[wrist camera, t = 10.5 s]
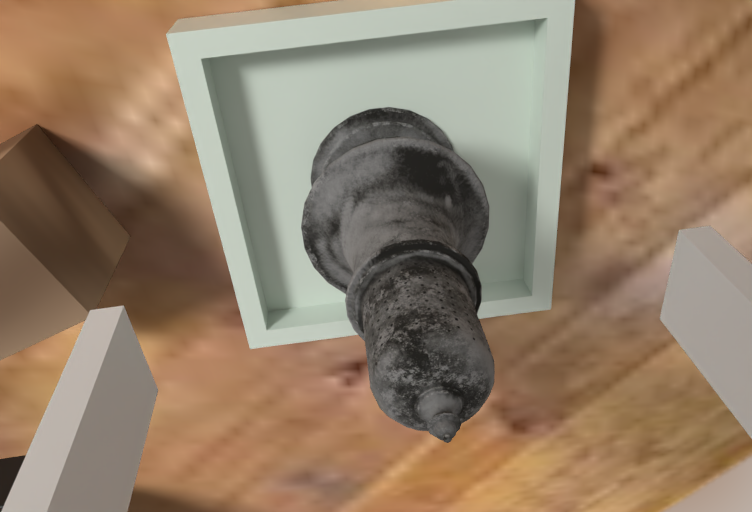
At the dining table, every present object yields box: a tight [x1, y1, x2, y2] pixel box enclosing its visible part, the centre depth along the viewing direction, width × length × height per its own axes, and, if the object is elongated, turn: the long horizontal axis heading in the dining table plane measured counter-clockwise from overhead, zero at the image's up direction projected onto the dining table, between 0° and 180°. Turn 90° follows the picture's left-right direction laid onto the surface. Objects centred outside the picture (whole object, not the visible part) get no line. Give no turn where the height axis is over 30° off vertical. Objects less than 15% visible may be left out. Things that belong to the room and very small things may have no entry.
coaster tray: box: [166, 0, 575, 349], centre depth 22 cm, size 12×12×2 cm
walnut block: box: [0, 124, 130, 360], centre depth 21 cm, size 5×5×5 cm
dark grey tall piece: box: [301, 107, 494, 443], centre depth 17 cm, size 6×6×12 cm
